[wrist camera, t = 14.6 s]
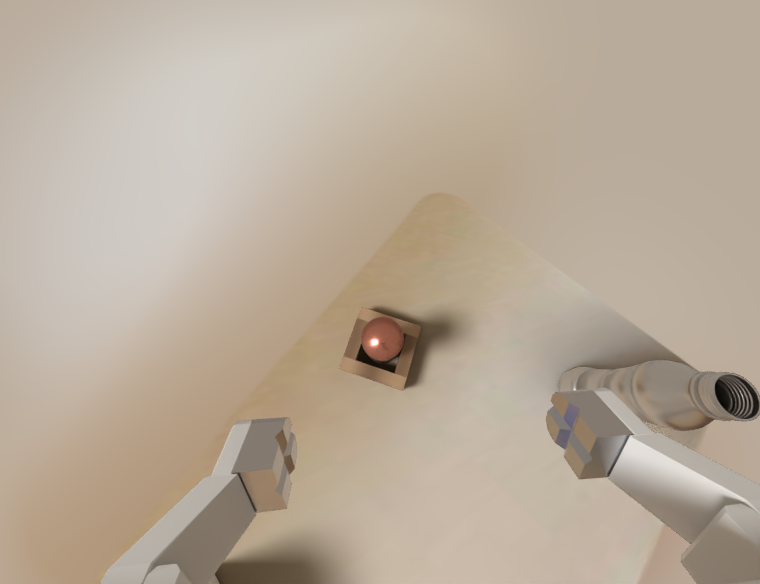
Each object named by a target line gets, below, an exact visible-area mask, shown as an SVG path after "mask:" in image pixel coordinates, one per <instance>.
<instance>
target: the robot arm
mask: <svg viewBox="0 0 760 584" xmlns="http://www.w3.org/2000/svg"><path fill="white" fill-rule="evenodd" d="M551 402H552V403H553V405H554V406H553V407H552V408H551V409H550V410H548V412H547V416H546V423H547V428H548V431H549V433H550V435H551V437H552V439H553V440H554V442H555V443H556V444H557V445H559V446H560V447H562V448H563V449H565V452H564V457H565V459H566V461H567V462H568V464H569V465H570V467H571V468H572V470H573V471H574V473H575V474H576V476H577V477H578V479H589V478H603V477H609V478H608V479H609V480H610V481H611V482H613V483H614V484H615V485H617V486H618V487H619V488H620V489H622V490H623V491H624V492H625V493H627V494H628V495H629V496H630V497H632V498H633V499H634V500H636V501H637V502H638V503H639V504H641V505H642V506H643V507H644V508H646V509H647V510H648V511H650V512H651V513H652V514H653V515H655V516H656V517H657V518H658V519H660V520H661V521H662V522H663V523H665V524H666V525H667V526H669V527H670V528H671V529H672V530H674V531H675V532H676V533H678V534H679V535H680V536H681V537H683V538H684V539H685V540H686V541H688V542H689V543H690V544H691V545H690V546H689V548H687V550H686V551H685V552H684V553H683V554H682V556H681V563H682V564H683V566H684V567H685V568H686V570H687V571H688V572H689V574H690V575H691V576H692V578H693V579H694V580H695V582H696V583H697V584H760V485H759V484H757V483H755V482H753V481H751V480H749V479H747V478H745V477H743V476H741V475H740V474H738V473H736V472H734V471H732V470H730V469H728V468H726V467H724V466H722V465H720V464H718V463H716V462H714V461H713V460H710V459H709V458H707V457H705V456H703V455H701V454H699V453H697V452H695V451H693V450H691V449H689V448H687V447H685V446H684V445H682V444H680V443H678V442H676V441H674V440H672V439H670V438H668V437H666V436H664V435H662V434H660V433H653V432H652V431H651V430H650V429H649V428H648V427H647V426H646V425H645V424H644V423H643V422H642V421H641V420H640V419H639V418H638V417H637V416H636V415H635V414H634V413H633V412H632V411H631V410H630V409H629V408H628V407H627V406H626V405H625V404H624V403H623V402H622V401H621V400H620V399H619V398H618V397H617V396H616V395H615V394H614V393H613V392H612V391H611V390H609V389H607V388H594V389H581V390H572V391H562V392H556V393H554V394H553V395H552V399H551ZM291 427H292V423H291V420H290V417H283V418H268V419H254V420H241V421H237V422H236V423H235V424H234V425H233V427H232V429H231V431H230V434H229V436H228V438H227V441H226V443H225V445H224V447H223V450H222V452H221V454H220V457H219V459H218V461H217V463H216V466H215V468H214V470H213V473H212V475H211V476H207V477H205V478H204V479H203V480H201V481H200V482H199V483H198V484H197V485H196V486H195V487H194V488H193V489H192V490H191V491H190V492H189V493H188V494H187V495H186V496H185V497H184V498H182V499H181V500H180V501H179V502H178V503H177V504H176V505H175V506H174V507H173V508H172V509H171V510H170V511H169V512H168V513H167V514H166V515H165V516H163V517H162V518H161V519H160V520H159V521H158V522H157V523H156V524H155V525H154V526H153V527H152V528H151V529H150V530H149V531H148V532H147V533H146V534H145V535H143V536H142V537H141V538H140V539H139V540H138V541H137V542H136V543H135V544H134V545H133V546H132V547H131V548H130V549H129V550H128V551H127V552H126V553H124V554H123V555H122V556H121V557H120V558H119V559H118V560H117V561H116V562H115V563H114V564H113V565H112V566H111V567H110V568H109V569H108V570H107V572H106V574H105V576H104V577H103V579H102V581H101V583H100V584H208V582H209V581H210V580H211V578H212V577H213V575H214V574H215V573H216V571H217V570H218V568H219V567H220V566H221V564H222V563H223V561H224V560H225V558H226V557H227V556H228V554H229V553H230V551H231V550H232V549H233V547H234V546H235V544H236V543H237V541H238V540H239V539H240V537H241V536H242V534H243V533H244V532H245V530H246V529H247V527H248V526H249V524H250V523H251V522H252V520H253V519H254V517H255V516H256V513H258V512H266V511H274V510H281V509H287V506H288V501H289V496H290V491H291V486H292V483H291V479H290V476H289V475H290V473H291V472H292V471H293V470H294V469H295V464H296V459H297V442H296V437H295V435H294V434H293V433H292V432H291Z"/></svg>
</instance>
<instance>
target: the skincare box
mask: <svg viewBox="0 0 760 584" xmlns="http://www.w3.org/2000/svg"><path fill="white" fill-rule="evenodd" d="M208 584H220V583H219V581H218V579H217V577H216V575H215V574H214V575H213V577H212V578H211V580H210V581H209V582H208Z"/></svg>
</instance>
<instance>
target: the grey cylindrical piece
mask: <svg viewBox="0 0 760 584" xmlns="http://www.w3.org/2000/svg"><path fill="white" fill-rule="evenodd" d="M361 342H362V346H363V349H364V350H365V352H366V353H367V354H368V355H369V357H370V359H371V360H373V361H374V362H376V363H386V362H388V361H389V360H390V359H392V358H393V357H395V356H396V355H397V354H398V353H399V352H400V350H401V348H402V346H403V343H404V334H403V331H402V329H401V327H400V326H399V324H398V323H397V322H395V321H394V320H392V319H390V318H387V317H378V318H375V319H373V320H371V321H369V322H368V323H367V324H366V325H365V327H364V329H363V331H362V334H361Z"/></svg>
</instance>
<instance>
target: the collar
mask: <svg viewBox="0 0 760 584" xmlns="http://www.w3.org/2000/svg"><path fill="white" fill-rule="evenodd" d="M378 317H387V318H390V319H392V320H394V321H395V322H397V323H398V324H399V326H400V327H401V329H402V331H403V334H404V337H405V338H404V343H403V346H402V348H401V351H400V355H399V358H398V361H397V365H396V368H395V371H394V373H391V372H389V371H386V370H383V369H380V368H377V367H374V366H371V365H368V364H365V363H362V362H359V361H357V360H358V357H359V354H360V351H361V348H362V342H361V334H362V331H363V329H364V327H365V325H366V324H367V323H368V322H369V321H371V320H373V319H375V318H378ZM421 327H422V326H419V325H416V324H413V323H410V322H407V321H403V320H400V319H397V318H394V317H391V316H388V315H385V314H382V313H379V312H375V311H372V310H369V309H366V308H363V307H361V309H360V312H359V314H358V317H357V320H356V323H355V326H354V328H353V331H352V334H351V337H350V340H349V342H348V345H347V348H346V351H345V354H344V356H343V359H342V362H341V365H340V367H339V369H341V370H344V371H347V372H350V373H353V374H356V375H359V376H362V377H365V378H368V379H371V380H373V381H376V382H379V383H382V384H385V385H388V386H391V387H394V388H397V389H400V390H403V389H404V386H405V382H406V379H407V375H408V372H409V369H410V365H411V362H412V358H413V355H414V351H415V348H416V344H417V341H418V337H419V334H420V331H421Z"/></svg>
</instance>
